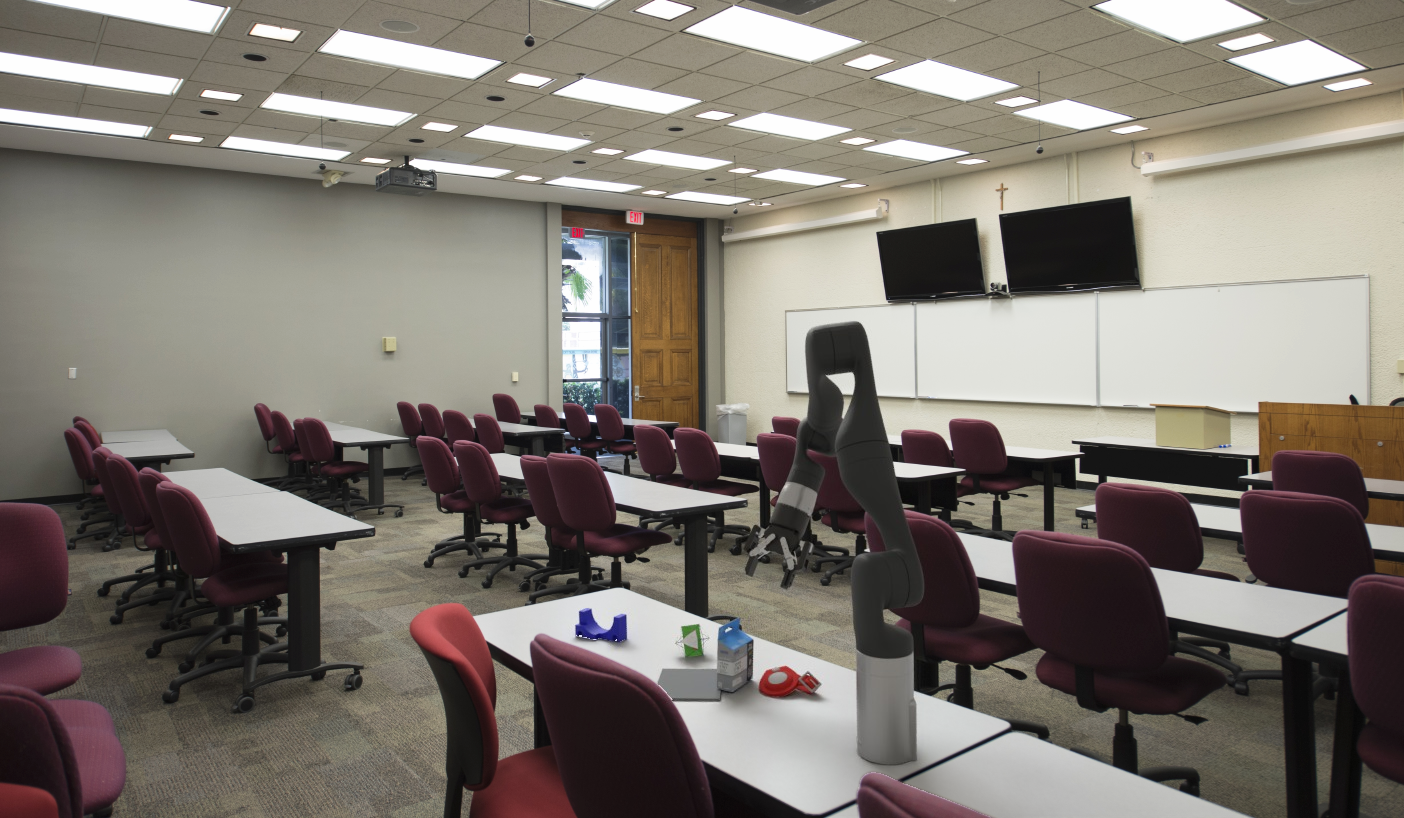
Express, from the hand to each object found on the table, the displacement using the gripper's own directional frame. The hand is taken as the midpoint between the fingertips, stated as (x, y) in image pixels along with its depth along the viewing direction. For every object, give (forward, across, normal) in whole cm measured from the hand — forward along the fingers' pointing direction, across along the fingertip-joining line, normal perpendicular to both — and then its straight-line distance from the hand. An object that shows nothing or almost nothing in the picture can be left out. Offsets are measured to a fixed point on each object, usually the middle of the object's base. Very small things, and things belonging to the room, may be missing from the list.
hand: (765, 581), depth 174 cm
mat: (+24, -8, -1) cm, 26 cm away
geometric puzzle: (+20, -18, +13) cm, 30 cm away
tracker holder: (+18, +10, +6) cm, 22 cm away
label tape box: (+21, 0, +3) cm, 21 cm away
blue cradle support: (+25, -43, +13) cm, 51 cm away
